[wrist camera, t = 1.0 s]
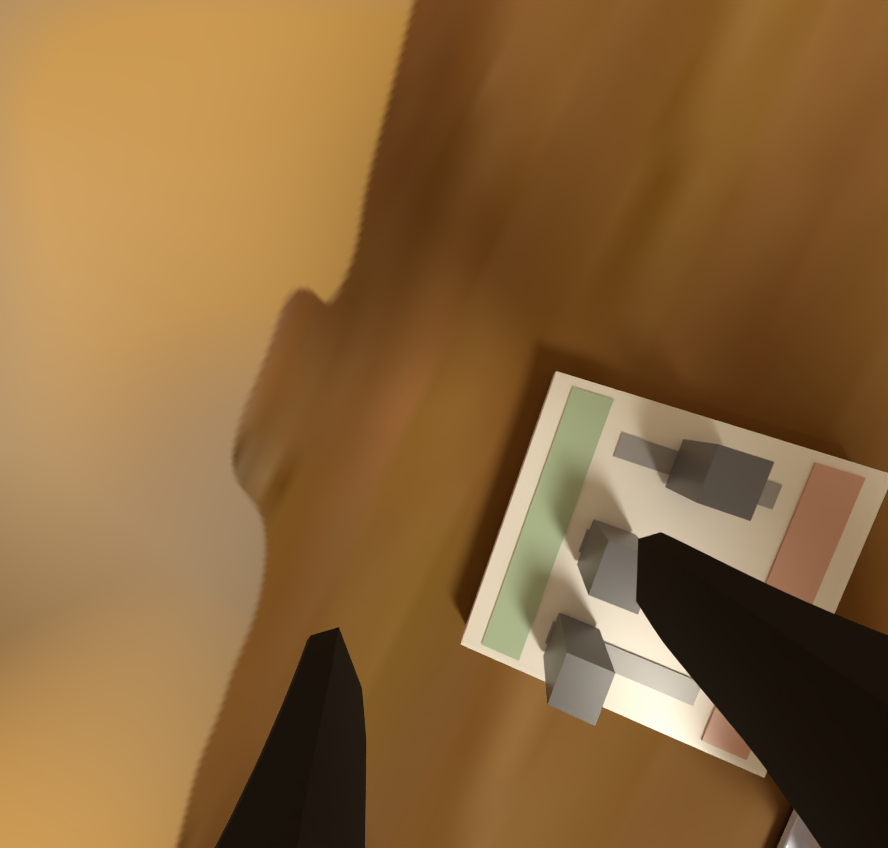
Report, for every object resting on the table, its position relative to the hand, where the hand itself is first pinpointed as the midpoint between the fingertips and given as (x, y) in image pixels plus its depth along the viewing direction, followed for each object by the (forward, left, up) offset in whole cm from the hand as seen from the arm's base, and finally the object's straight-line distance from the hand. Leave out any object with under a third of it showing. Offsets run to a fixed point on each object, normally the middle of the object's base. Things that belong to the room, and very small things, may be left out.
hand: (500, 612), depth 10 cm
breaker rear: (-5, +5, -11) cm, 13 cm away
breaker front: (-7, -5, -11) cm, 14 cm away
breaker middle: (-5, 0, -11) cm, 12 cm away
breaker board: (-7, 0, -14) cm, 15 cm away
